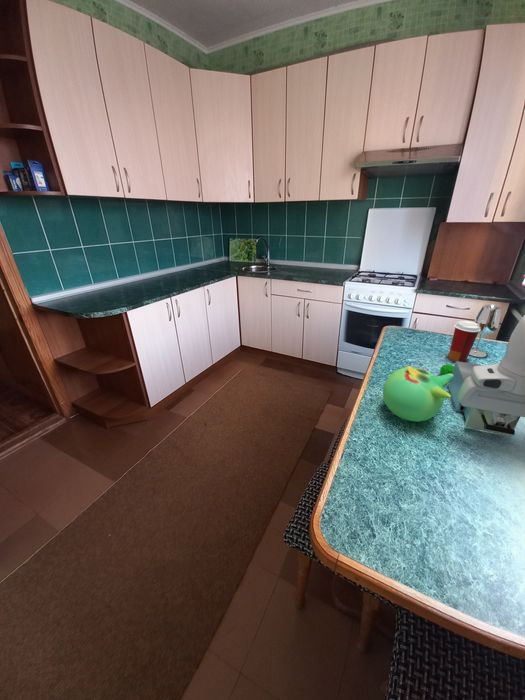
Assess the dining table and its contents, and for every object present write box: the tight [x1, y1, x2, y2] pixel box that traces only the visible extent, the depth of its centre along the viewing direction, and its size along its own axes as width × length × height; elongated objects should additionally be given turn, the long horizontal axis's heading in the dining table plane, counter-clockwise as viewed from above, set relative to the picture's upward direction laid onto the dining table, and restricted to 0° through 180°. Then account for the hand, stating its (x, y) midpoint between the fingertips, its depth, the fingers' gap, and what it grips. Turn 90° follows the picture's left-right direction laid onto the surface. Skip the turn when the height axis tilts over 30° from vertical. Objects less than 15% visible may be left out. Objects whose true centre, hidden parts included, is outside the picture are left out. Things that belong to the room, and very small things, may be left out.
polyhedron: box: [439, 363, 455, 376], centre depth 103 cm, size 5×5×5 cm
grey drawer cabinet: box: [447, 361, 483, 413], centre depth 89 cm, size 15×12×10 cm
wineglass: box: [468, 304, 502, 358], centre depth 115 cm, size 8×8×20 cm
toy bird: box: [382, 365, 454, 422], centre depth 84 cm, size 18×17×15 cm
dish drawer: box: [461, 405, 521, 437], centre depth 80 cm, size 19×10×8 cm, turn 159°
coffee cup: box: [448, 320, 481, 363], centre depth 112 cm, size 8×8×15 cm
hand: (497, 424), depth 74 cm, fingers closed
